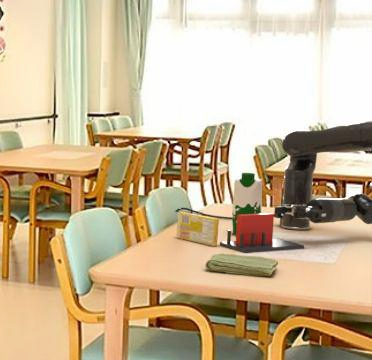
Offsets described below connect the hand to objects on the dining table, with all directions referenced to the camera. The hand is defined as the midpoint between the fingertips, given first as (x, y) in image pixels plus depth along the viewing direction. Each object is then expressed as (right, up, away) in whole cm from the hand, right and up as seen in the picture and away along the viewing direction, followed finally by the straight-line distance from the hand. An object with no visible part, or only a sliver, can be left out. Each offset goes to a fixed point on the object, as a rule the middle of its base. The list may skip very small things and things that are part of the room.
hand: (284, 212), depth 280 cm
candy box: (-26, -9, +3) cm, 28 cm away
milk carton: (-8, -8, +18) cm, 21 cm away
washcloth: (-21, -14, -37) cm, 45 cm away
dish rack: (-8, -10, -3) cm, 13 cm away
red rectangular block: (-10, -9, -4) cm, 14 cm away
